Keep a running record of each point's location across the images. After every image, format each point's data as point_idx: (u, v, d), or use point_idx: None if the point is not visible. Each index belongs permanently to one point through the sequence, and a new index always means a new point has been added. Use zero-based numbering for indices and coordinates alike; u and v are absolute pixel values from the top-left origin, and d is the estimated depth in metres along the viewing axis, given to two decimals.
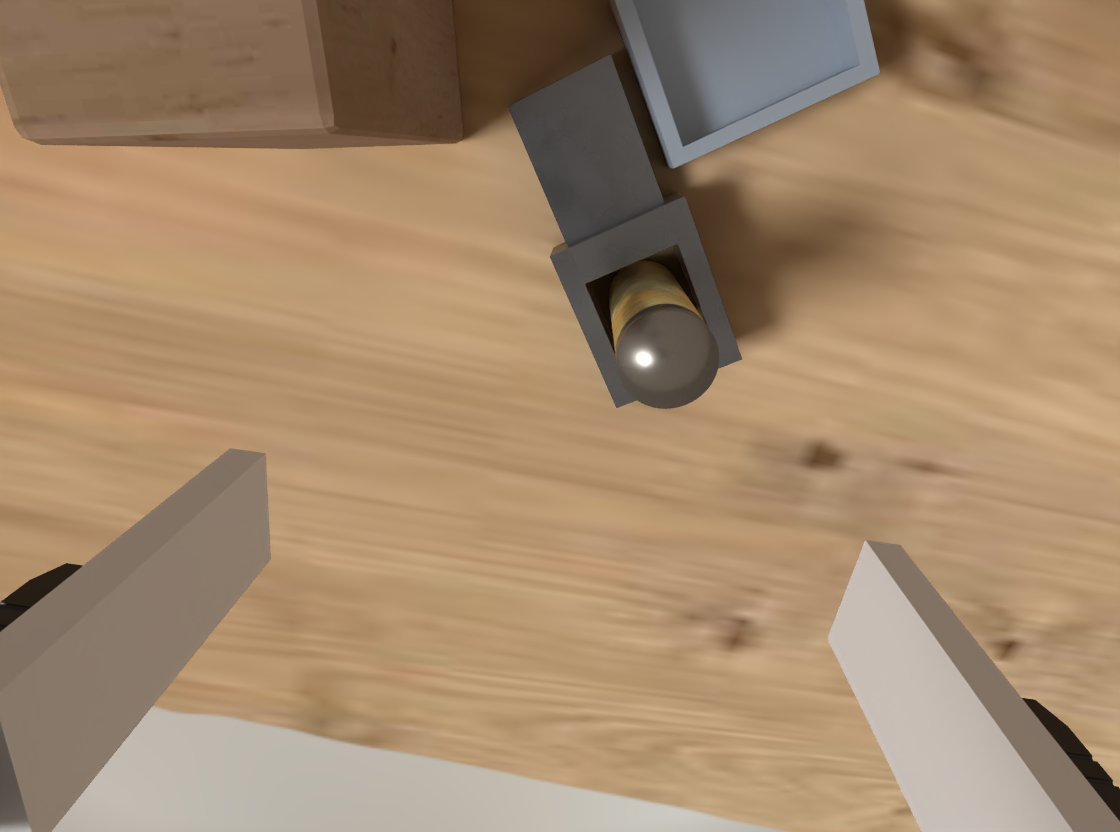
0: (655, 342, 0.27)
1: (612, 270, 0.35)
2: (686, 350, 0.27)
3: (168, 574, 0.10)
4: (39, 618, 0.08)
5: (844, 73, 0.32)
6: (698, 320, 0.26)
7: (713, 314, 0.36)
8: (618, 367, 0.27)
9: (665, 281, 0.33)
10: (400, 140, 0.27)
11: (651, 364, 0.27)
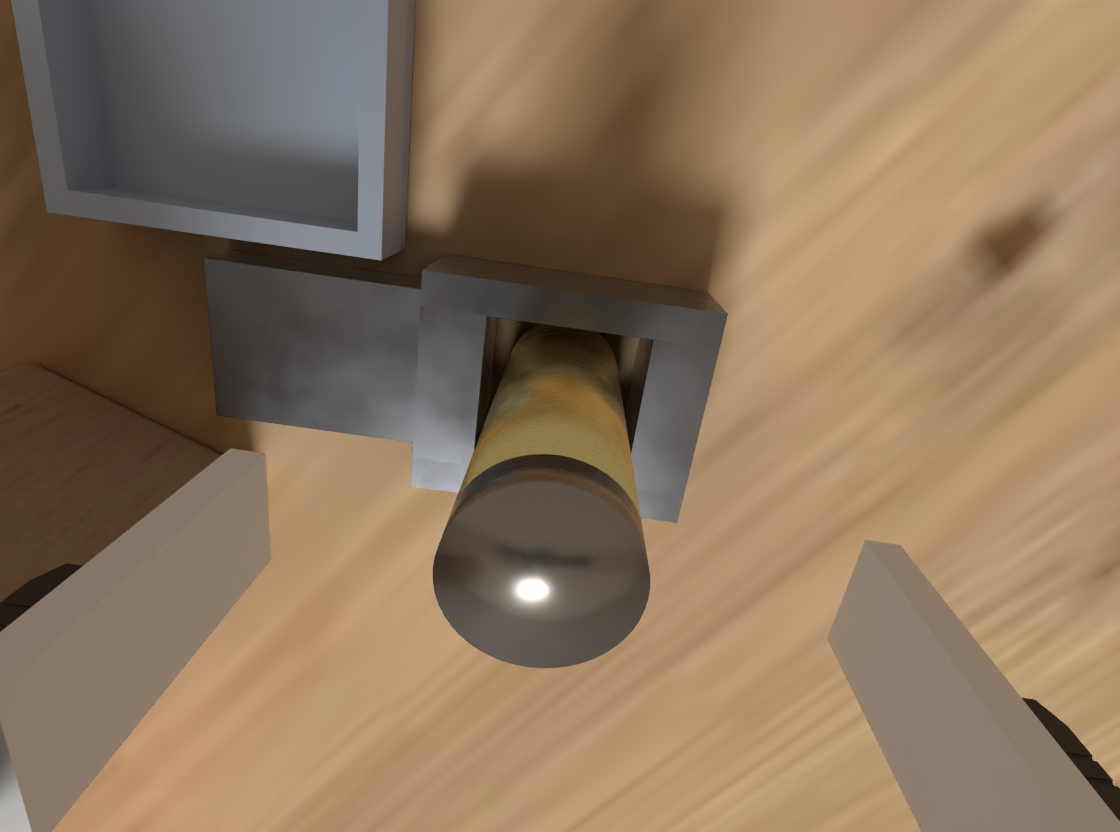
0: (490, 584, 0.13)
1: (474, 421, 0.22)
2: (539, 545, 0.12)
3: (168, 573, 0.10)
4: (39, 618, 0.08)
5: None
6: (491, 498, 0.12)
7: (626, 319, 0.21)
8: (501, 658, 0.13)
9: (504, 390, 0.19)
10: None
11: (529, 610, 0.13)
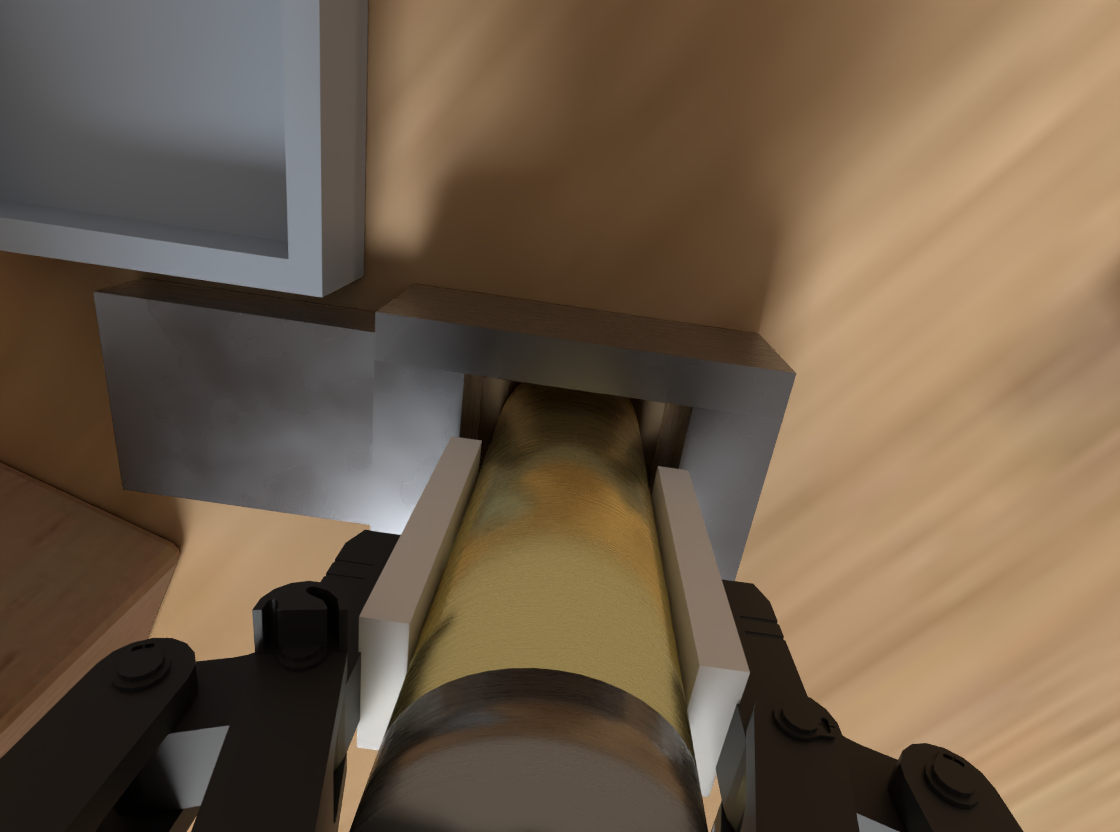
0: None
1: None
2: None
3: (451, 538, 0.12)
4: (399, 567, 0.10)
5: None
6: (432, 789, 0.06)
7: (656, 380, 0.15)
8: None
9: (484, 488, 0.13)
10: None
11: None
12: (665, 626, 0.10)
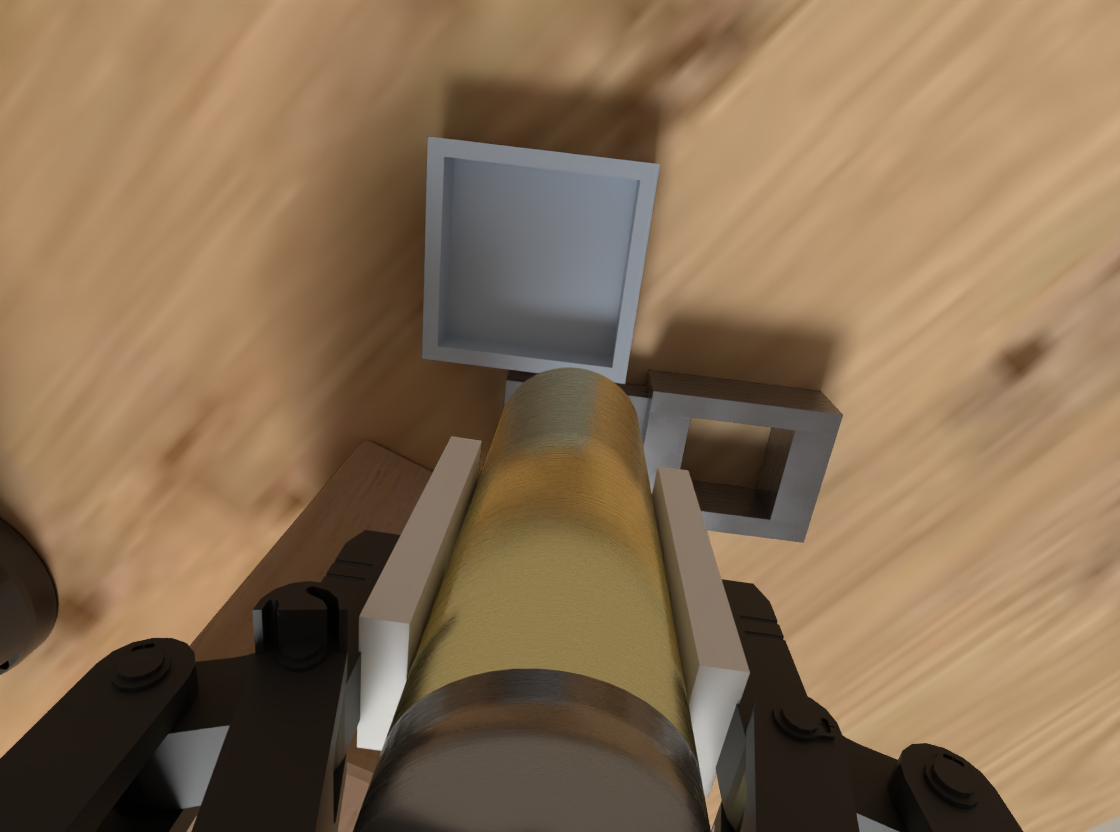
0: None
1: None
2: None
3: (450, 538, 0.12)
4: (400, 567, 0.10)
5: (639, 198, 0.30)
6: (435, 789, 0.06)
7: (778, 418, 0.33)
8: None
9: (486, 489, 0.13)
10: None
11: None
12: (667, 626, 0.10)
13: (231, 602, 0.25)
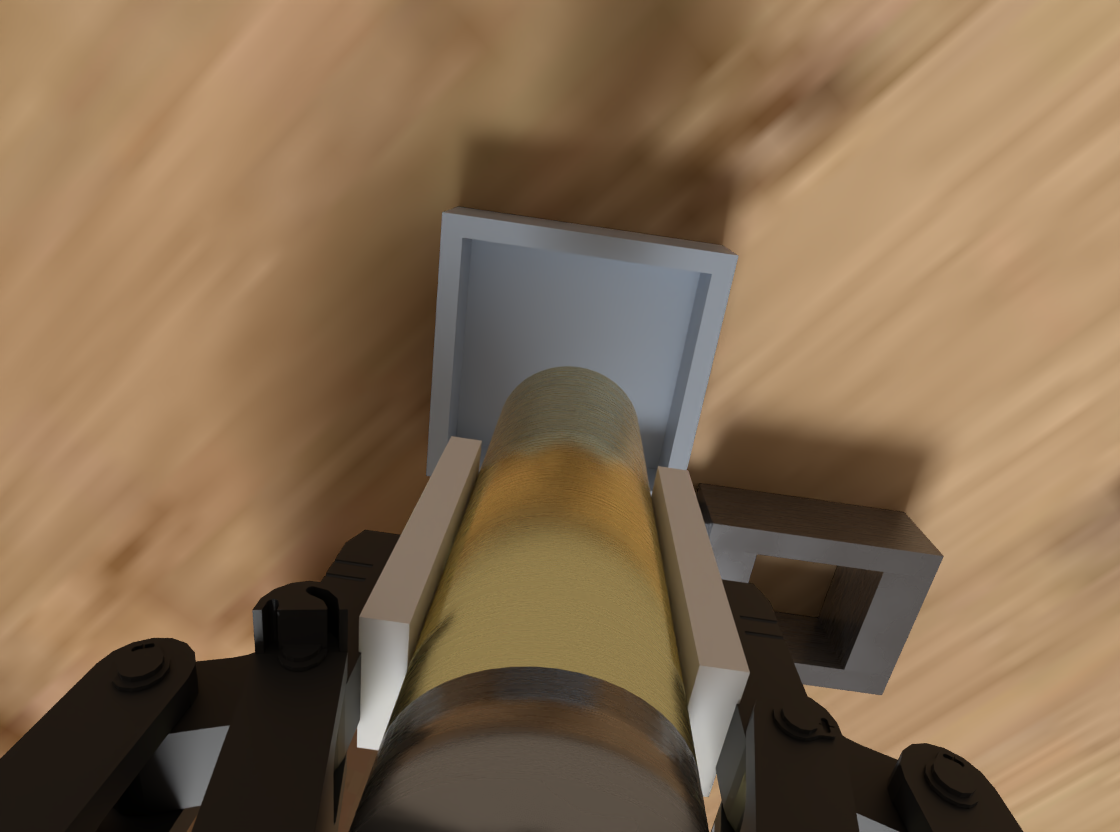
0: None
1: None
2: None
3: (450, 538, 0.12)
4: (400, 568, 0.10)
5: (709, 296, 0.24)
6: (432, 787, 0.06)
7: (864, 558, 0.27)
8: None
9: (484, 487, 0.13)
10: None
11: None
12: (666, 625, 0.10)
13: None
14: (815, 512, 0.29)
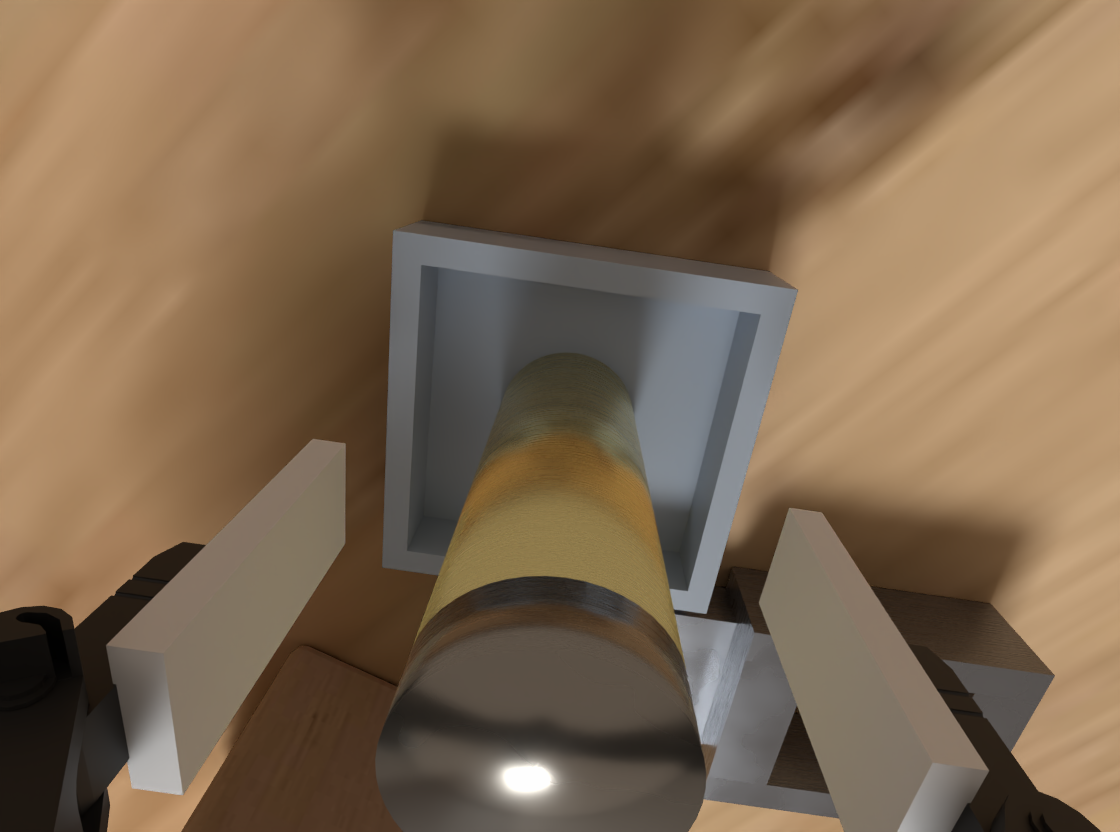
0: (463, 781, 0.08)
1: (777, 750, 0.23)
2: (536, 729, 0.08)
3: (277, 551, 0.11)
4: (183, 587, 0.09)
5: (756, 344, 0.17)
6: (463, 661, 0.08)
7: None
8: None
9: (493, 452, 0.14)
10: None
11: (522, 815, 0.09)
12: (658, 560, 0.11)
13: None
14: None
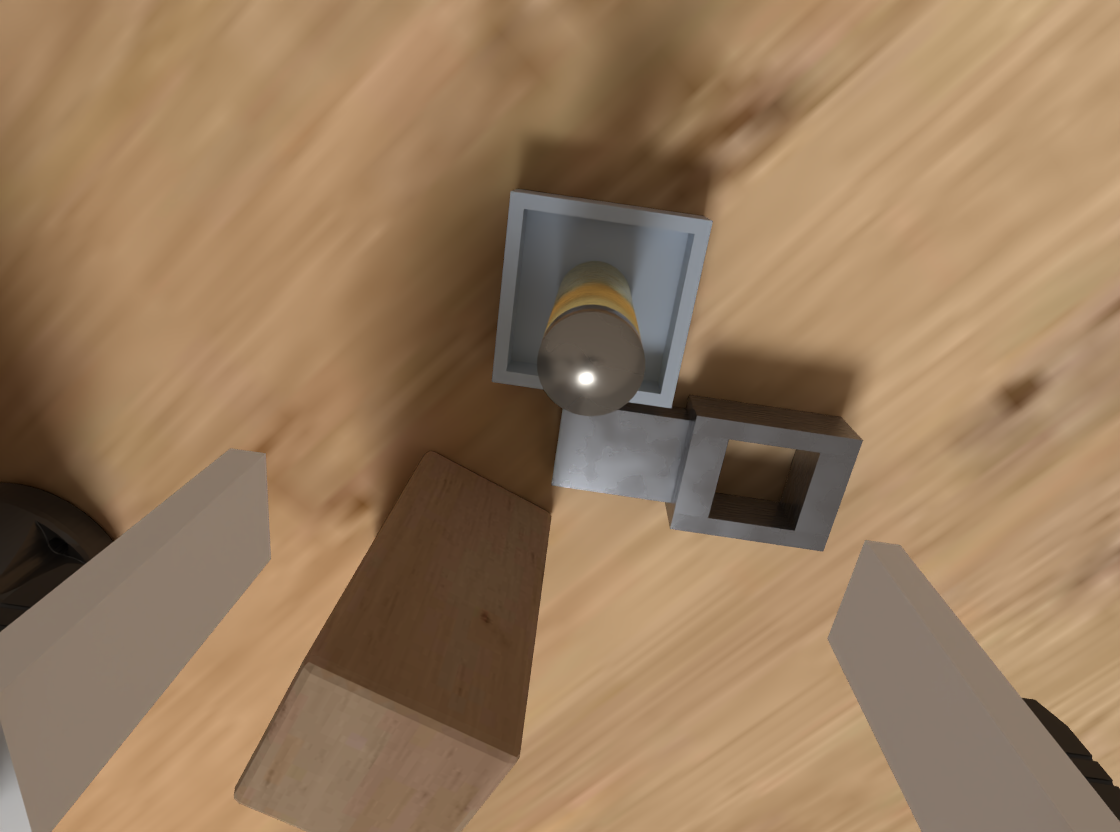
0: (565, 366, 0.26)
1: (712, 494, 0.39)
2: (590, 344, 0.25)
3: (168, 574, 0.10)
4: (39, 618, 0.08)
5: (692, 249, 0.34)
6: (568, 318, 0.25)
7: (806, 442, 0.38)
8: (569, 410, 0.26)
9: (563, 292, 0.31)
10: None
11: (584, 381, 0.26)
12: (634, 319, 0.28)
13: (348, 595, 0.29)
14: (773, 413, 0.40)
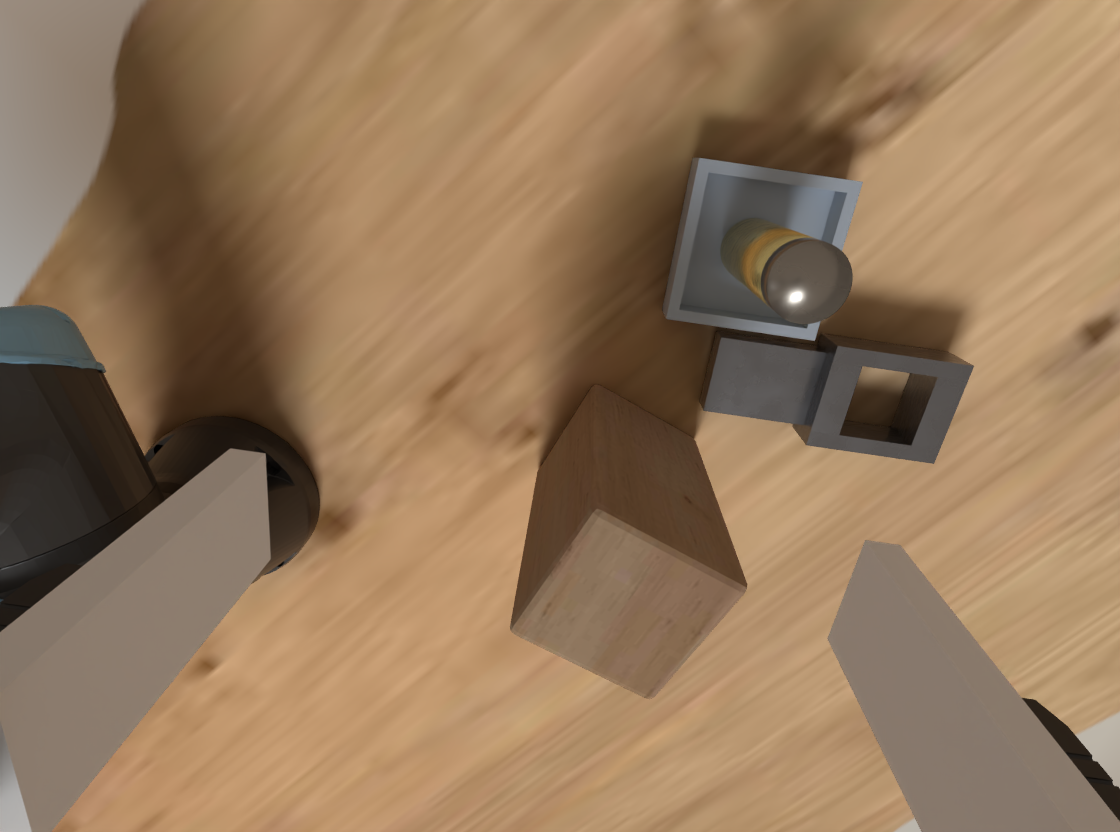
0: (789, 284, 0.33)
1: (845, 414, 0.47)
2: (811, 266, 0.33)
3: (168, 573, 0.10)
4: (39, 618, 0.08)
5: (844, 205, 0.42)
6: (797, 245, 0.33)
7: (927, 368, 0.46)
8: (787, 319, 0.34)
9: (753, 237, 0.39)
10: None
11: (803, 296, 0.34)
12: None
13: (597, 471, 0.37)
14: (894, 347, 0.47)
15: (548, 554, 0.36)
